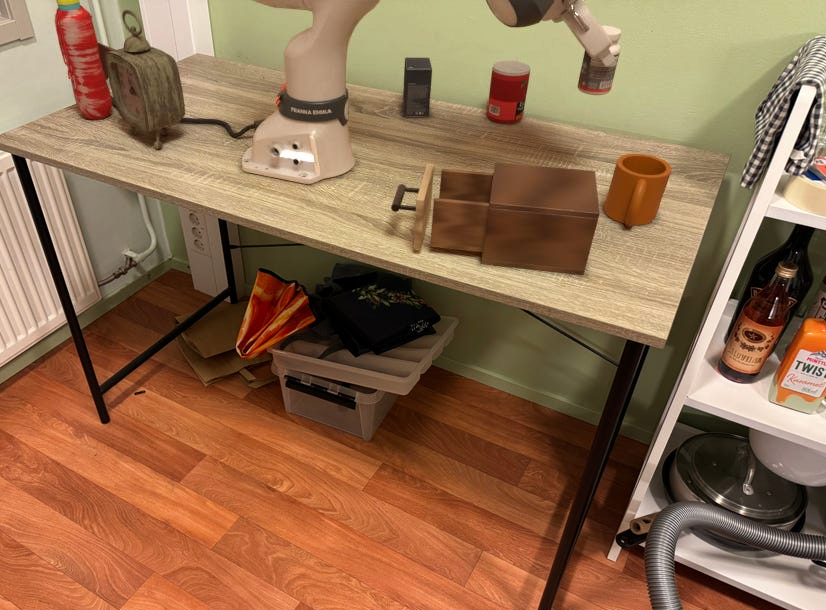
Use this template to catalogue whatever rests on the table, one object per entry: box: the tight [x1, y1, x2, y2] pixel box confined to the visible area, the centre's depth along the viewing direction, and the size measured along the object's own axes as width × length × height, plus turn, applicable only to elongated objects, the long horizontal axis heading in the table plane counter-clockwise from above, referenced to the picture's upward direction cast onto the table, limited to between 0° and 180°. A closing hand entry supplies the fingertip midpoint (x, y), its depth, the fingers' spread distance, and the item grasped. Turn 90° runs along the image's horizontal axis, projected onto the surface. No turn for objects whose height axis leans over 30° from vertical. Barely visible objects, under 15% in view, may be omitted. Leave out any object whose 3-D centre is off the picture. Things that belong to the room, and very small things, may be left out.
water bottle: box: [54, 0, 116, 121], centre depth 147 cm, size 12×8×25 cm, turn 145°
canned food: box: [486, 60, 531, 125], centre depth 148 cm, size 8×8×11 cm
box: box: [402, 56, 433, 118], centre depth 151 cm, size 8×6×11 cm
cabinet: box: [480, 161, 601, 276], centre depth 108 cm, size 16×14×11 cm
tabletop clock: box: [105, 9, 186, 150], centre depth 137 cm, size 14×9×25 cm, turn 42°
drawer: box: [390, 163, 494, 253], centre depth 110 cm, size 19×13×9 cm, turn 78°
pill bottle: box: [577, 25, 622, 96], centre depth 116 cm, size 6×6×10 cm
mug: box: [603, 153, 673, 228], centre depth 116 cm, size 9×12×9 cm
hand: (604, 55), depth 115 cm, fingers closed on pill bottle, 6 cm apart
